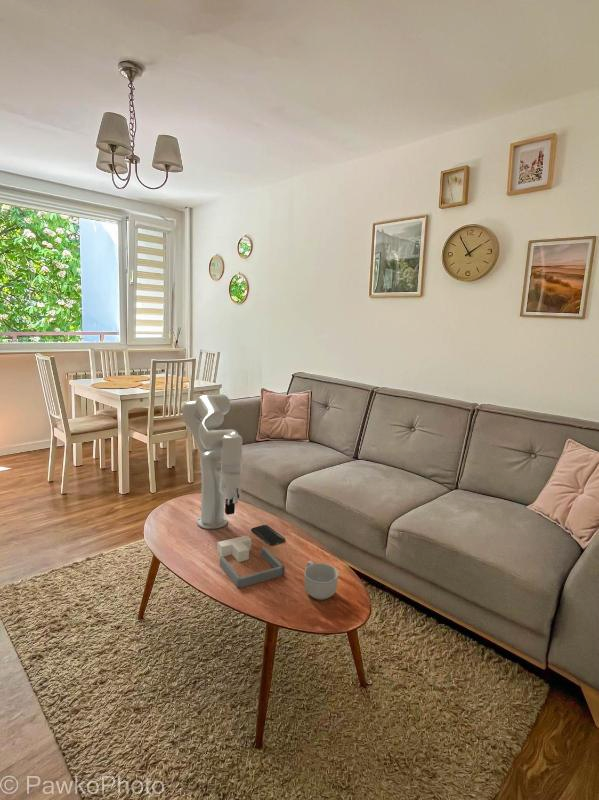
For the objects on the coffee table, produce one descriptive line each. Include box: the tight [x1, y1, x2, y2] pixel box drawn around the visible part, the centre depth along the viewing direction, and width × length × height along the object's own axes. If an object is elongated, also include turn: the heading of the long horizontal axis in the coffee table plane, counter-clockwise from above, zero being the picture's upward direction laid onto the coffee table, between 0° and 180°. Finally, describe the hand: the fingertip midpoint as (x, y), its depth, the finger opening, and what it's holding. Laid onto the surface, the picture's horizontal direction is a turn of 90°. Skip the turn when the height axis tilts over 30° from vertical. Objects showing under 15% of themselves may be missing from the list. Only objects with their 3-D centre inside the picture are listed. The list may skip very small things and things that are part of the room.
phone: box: [250, 524, 286, 546], centre depth 179 cm, size 8×1×15 cm
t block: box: [216, 535, 252, 563], centre depth 163 cm, size 10×12×4 cm
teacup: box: [304, 560, 339, 601], centre depth 144 cm, size 14×11×8 cm
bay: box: [219, 546, 286, 589], centre depth 154 cm, size 15×17×3 cm
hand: (229, 513), depth 168 cm, fingers closed
